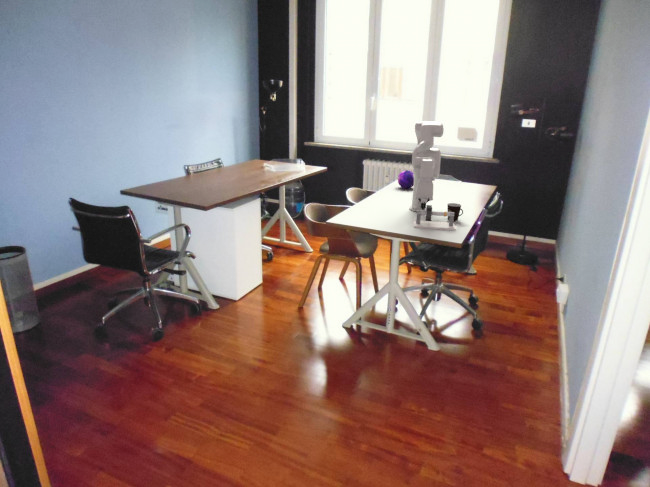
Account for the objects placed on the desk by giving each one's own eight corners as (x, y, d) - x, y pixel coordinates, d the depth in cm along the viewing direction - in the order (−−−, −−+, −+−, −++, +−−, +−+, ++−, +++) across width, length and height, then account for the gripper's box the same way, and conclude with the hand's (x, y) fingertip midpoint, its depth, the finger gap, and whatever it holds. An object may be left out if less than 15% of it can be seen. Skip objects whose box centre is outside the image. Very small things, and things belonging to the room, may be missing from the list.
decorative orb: (398, 185, 409) (400, 168, 404) (416, 187, 404) (417, 169, 399) (395, 189, 395) (396, 171, 390) (413, 190, 391) (415, 172, 386)
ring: (425, 217, 300) (426, 205, 298) (430, 217, 300) (431, 205, 297) (425, 220, 293) (427, 208, 290) (430, 221, 292) (432, 208, 290)
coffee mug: (444, 217, 315) (445, 203, 312) (456, 217, 316) (458, 203, 313) (449, 222, 304) (451, 207, 301) (462, 222, 305) (464, 207, 302)
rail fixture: (413, 221, 305) (414, 207, 302) (453, 224, 301) (455, 209, 298) (413, 227, 293) (415, 212, 290) (455, 230, 289) (457, 215, 286)
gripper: (438, 179, 291) (435, 208, 297) (413, 178, 294) (410, 206, 300) (438, 181, 284) (435, 211, 290) (413, 180, 287) (410, 209, 293)
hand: (423, 209), depth 295 cm, fingers closed
